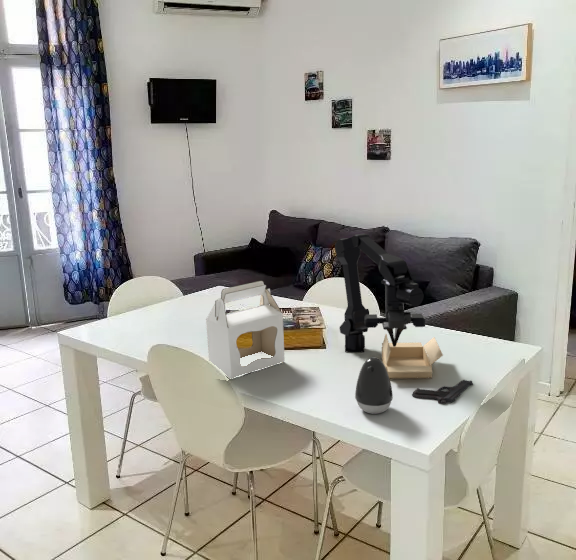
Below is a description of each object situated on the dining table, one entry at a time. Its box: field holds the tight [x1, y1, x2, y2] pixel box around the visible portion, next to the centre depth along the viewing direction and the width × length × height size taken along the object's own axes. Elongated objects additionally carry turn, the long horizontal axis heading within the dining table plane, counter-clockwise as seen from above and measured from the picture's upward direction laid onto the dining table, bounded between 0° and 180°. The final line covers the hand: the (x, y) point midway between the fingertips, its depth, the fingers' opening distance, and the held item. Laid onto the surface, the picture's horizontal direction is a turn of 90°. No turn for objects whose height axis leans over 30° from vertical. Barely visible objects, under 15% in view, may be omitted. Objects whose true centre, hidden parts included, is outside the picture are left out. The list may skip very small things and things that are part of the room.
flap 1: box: [381, 333, 391, 364], centre depth 198 cm, size 1×17×4 cm, turn 175°
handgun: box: [411, 379, 474, 405], centre depth 181 cm, size 18×2×12 cm
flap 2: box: [423, 337, 444, 365], centre depth 197 cm, size 1×17×4 cm
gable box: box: [205, 280, 286, 380], centre depth 203 cm, size 22×13×28 cm, turn 129°
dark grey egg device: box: [354, 356, 394, 415], centre depth 168 cm, size 10×10×15 cm
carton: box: [381, 342, 433, 380], centre depth 199 cm, size 14×26×4 cm, turn 176°
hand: (394, 346), depth 198 cm, fingers closed
